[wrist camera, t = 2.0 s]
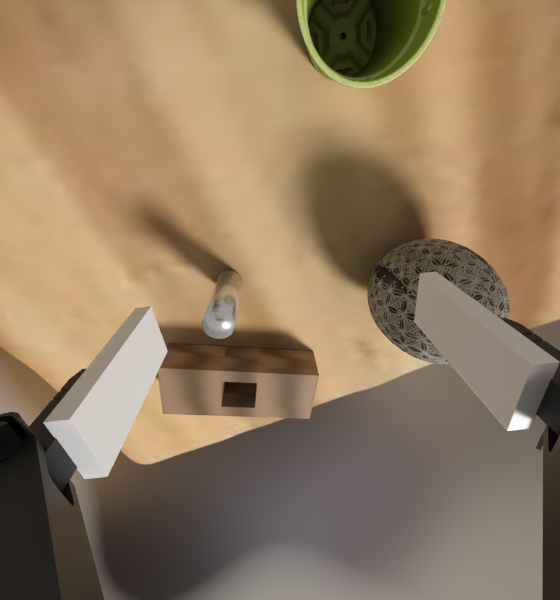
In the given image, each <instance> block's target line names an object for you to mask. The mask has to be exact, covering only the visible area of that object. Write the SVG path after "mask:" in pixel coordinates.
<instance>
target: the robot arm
mask: <svg viewBox="0 0 560 600" xmlns="http://www.w3.org/2000/svg"><path fill="white" fill-rule="evenodd" d="M414 322H415V323H416V325H417V326H418V327H419V328H420V329H421V330H422V332H423V333H424V334H425V335H426V336H427V338H428V339H429V340H430V341H431V342H432V343H433V345H434V346H435V347H436V348H437V349H438V350H439V352H440V353H441V354H442V355H443V356H444V358H445V359H446V360H447V361H448V362H449V363H450V365H451V366H452V367H453V368H454V369H455V370H456V372H457V373H458V374H459V375H460V376H461V377H462V379H463V380H464V381H465V382H466V383H467V384H468V386H469V387H470V388H471V389H472V390H473V392H474V393H475V394H476V395H477V396H478V397H479V399H480V400H481V401H482V402H483V403H484V405H486V407H487V408H488V409H489V410H490V411H491V413H492V414H493V415H494V416H495V417H496V418H497V420H498V421H499V422H500V423H501V424H502V426H503V427H504V428H505V429H506V430H507V431H511V430H520V429H529V428H531V427H532V425H533V422H534V420H535V418H536V415H538V416H539V417H540V418H541V419H542V420H543V421H544V422H545V423H546V424H547V425H546V427H545V429H544V432H543V434H542V436H541V438H540V440H539V442H538V444H537V447H536V448H537V449H539V450H541V448H542V446H543V600H560V351H559V350H558V349H556V348H554V347H553V346H552V345H550V344H549V343H547V342H546V341H543V339H542V338H540V337H539V336H537V335H536V334H533V332H532V331H530V330H529V329H527V328H526V327H524V326H523V325H521V324H519V323H517V322H515V321H512V320H510V319H507V318H499V317H497V316H496V315H495V314H493V313H492V312H491V311H489V310H488V309H487V308H485V307H484V306H482V305H481V304H480V303H478V302H477V301H476V300H474V299H473V298H471V297H470V296H469V295H467V294H466V293H465V292H463V291H462V290H460V289H459V288H458V287H456V286H455V285H454V284H452V283H451V282H449V281H448V280H447V279H445V278H444V277H443V276H441V275H440V274H439V273H437V272H428V273H420V276H419V284H418V293H417V301H416V309H415V317H414ZM167 352H168V351H167V348H166V345H165V343H164V340H163V337H162V334H161V332H160V329H159V326H158V324H157V321H156V318H155V316H154V313H153V310H152V308H151V306H150V307H142V308H135V310H134V311H133V312H132V313H131V315H130V316H129V317H128V318H127V320H126V321H125V322H124V323H123V324H122V326H121V327H120V328H119V329H118V331H117V332H116V333H115V334H114V336H113V337H112V338H111V339H110V341H109V342H108V343H107V344H106V345H105V347H104V348H103V349H102V350H101V352H100V353H99V354H98V355H97V357H96V358H95V359H94V360H93V362H92V363H91V364H90V365H89V366H88V368H87V369H82V370H81V371H79V372H78V373H77V374H75V375H74V376H73V377H72V378H70V379H69V380H68V381H67V383H66V384H65V385H64V386H63V387H62V389H61V391H60V392H58V393H57V395H56V396H55V397H54V399H53V400H52V401H51V402H50V403H49V404H48V405H47V406H46V407H45V409H44V410H43V411H42V412H41V413H40V415H39V416H38V417H37V418H36V419H35V420H34V422H33V423H32V424H31V425H30V426H29V427H28V425H27V424H26V423H25V421H24V420H23V419H22V418H21V416H20V415H19V414H18V413H14V412H9V413H4V414H1V415H0V600H104V597H103V593H102V589H101V585H100V582H99V578H98V574H97V570H96V566H95V562H94V559H93V555H92V551H91V547H90V543H89V540H88V536H87V532H86V528H85V524H84V520H83V517H82V513H81V509H80V506H79V501H78V498H77V494H76V490H75V486H74V485H73V483H72V482H71V481H70V479H71V477H72V475H73V474H74V472H75V470H76V469H78V471H79V472H80V473H81V475H82V476H83V478H84V479H89V478H99V477H107V476H108V474H109V472H110V470H111V468H112V466H113V464H114V462H115V460H116V458H117V456H118V453H119V452H120V449H121V447H122V445H123V443H124V441H125V439H126V437H127V435H128V433H129V431H130V429H131V427H132V424H133V422H134V420H135V418H136V416H137V414H138V412H139V410H140V408H141V406H142V404H143V402H144V400H145V397H146V395H147V393H148V391H149V389H150V387H151V385H152V383H153V381H154V379H155V377H156V375H157V373H158V370H159V368H160V366H161V364H162V362H163V360H164V358H165V356H166V354H167Z"/></svg>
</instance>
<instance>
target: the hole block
mask: <svg viewBox="0 0 560 600" xmlns="http://www.w3.org/2000/svg"><path fill="white" fill-rule="evenodd" d="M167 351H168V352H167V354H166V356H165V358H164V360H163V362H162V364H161V366H160V368H159V370H158V378H159V386H160V394H161V402H162V411H163V414H184V415H214V416H244V417H274V418H304V419H305V418H306V419H309V418H310V413H311V409H312V405H313V400H314V395H315V391H316V386H317V382H318V377H319V374H318V370H317V366H316V361H315V357H314V353H313V351H303V350H285V349H267V348H249V347H230V346H212V345H194V344H175V343H169V345H168V347H167Z"/></svg>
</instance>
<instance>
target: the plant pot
mask: <svg viewBox="0 0 560 600" xmlns="http://www.w3.org/2000/svg"><path fill="white" fill-rule="evenodd" d="M332 1H333V0H296V9H297V17H298V22H299V26H300V30H301V34H302V37H303V39H304V42H305V45H306V47H307V49H308V53H309V56H310V59H311V62H312V64H313V65H314V67H315V68H316V69H317V71H318V72H319V73H320V74H322V75H323V76H324V77H326V78H327V79H330V80H333V81H336V82H338V83H340V84H342V85H345V86H348V87H352V88H371V87H375V86H379V85H382V84H384V83H387V82H389V81H391V80H393V79H394V78H396V77H398V76H399V75H401V74H402V73H403V72H404V71H406V70H407V69H408V68H409V67H410V66H411V65H412V64H413V63H414V62H415V61H416V60H417V59H418V57H419V56H420V55H421V54H422V52H423V51H424V50H425V48H426V47H427V45H428V44H429V42H430V40H431V39H432V37H433V35H434V33H435V31H436V29H437V27H438V25H439V22H440V20H441V17H442V14H443V11H444V8H445V4H446V0H348V2H347V3H341V4H337V5H334V6H332ZM367 21H368V22H369V23H370V27H371V39H370V41H369V42H367ZM314 33H316V34H317V48H318V52H317V51H316V49H315V47H314V45H313V35H314ZM341 33H345V35H346V38H345V39H344V40H341V39H340V35H341ZM350 67H352V69H351V71H350V72H348V73H345V74H339V73H337V70H342V69H347V68H350Z"/></svg>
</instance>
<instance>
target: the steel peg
mask: <svg viewBox="0 0 560 600" xmlns="http://www.w3.org/2000/svg"><path fill="white" fill-rule="evenodd" d="M241 287H242V278H241V276H240V274H239V273H238V272H236V271H234V270H225V271H223V272H221V273H220V274H219V276H218V279H217V282H216V284H215V287H214V290H213V293H212V296H211V299H210V301H209V304H208V307H207V310H206V313H205V315H204V318H203V321H202V328H203V330H204V332H205V333H206V334H207V335H208V336H210V337H212V338H215V339H224V338H227V337H229V336H230V335H231V334H232V333H233V331H234V329H235V323H236V317H237V311H238V305H239V299H240V293H241Z"/></svg>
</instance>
